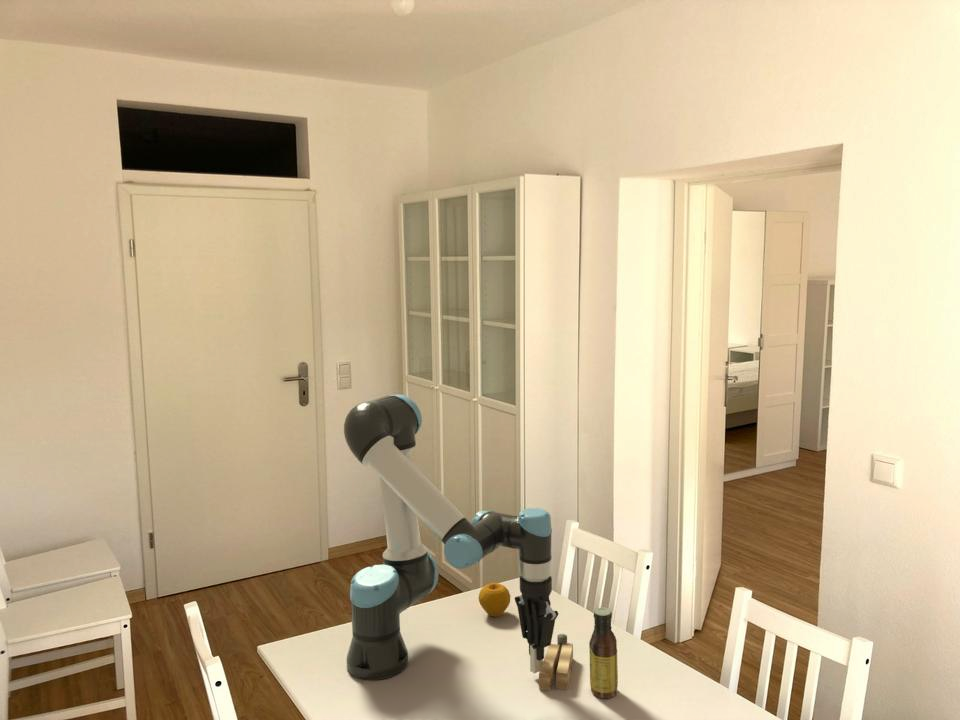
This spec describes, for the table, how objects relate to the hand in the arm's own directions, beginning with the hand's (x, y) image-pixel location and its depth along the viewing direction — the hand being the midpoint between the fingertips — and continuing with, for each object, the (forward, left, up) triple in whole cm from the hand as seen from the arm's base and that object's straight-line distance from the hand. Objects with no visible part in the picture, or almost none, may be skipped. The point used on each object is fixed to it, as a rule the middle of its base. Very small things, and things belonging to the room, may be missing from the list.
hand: (536, 670), depth 184 cm
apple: (-34, +4, -2) cm, 34 cm away
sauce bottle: (+13, +11, -2) cm, 17 cm away
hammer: (0, +7, -2) cm, 7 cm away
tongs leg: (+1, +3, -1) cm, 3 cm away
